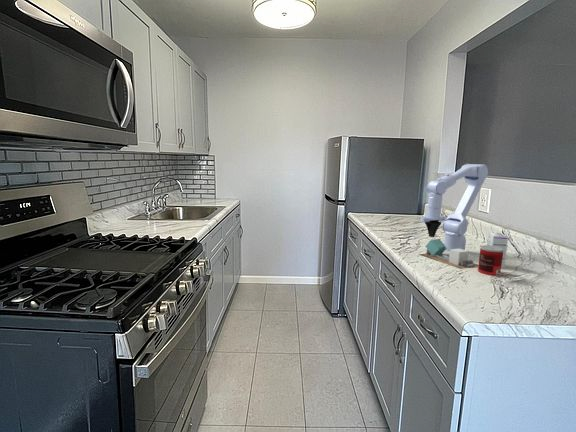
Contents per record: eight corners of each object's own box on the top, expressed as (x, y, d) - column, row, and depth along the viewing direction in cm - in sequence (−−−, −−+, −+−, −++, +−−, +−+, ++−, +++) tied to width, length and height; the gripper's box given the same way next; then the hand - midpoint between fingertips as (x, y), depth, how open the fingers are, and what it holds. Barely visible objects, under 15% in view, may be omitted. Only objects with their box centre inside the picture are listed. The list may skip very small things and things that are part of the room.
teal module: (441, 254, 155) (433, 245, 159) (447, 248, 152) (439, 238, 156) (432, 255, 153) (425, 246, 156) (438, 249, 150) (430, 240, 153)
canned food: (497, 273, 136) (500, 246, 134) (502, 279, 129) (506, 251, 127) (475, 270, 138) (478, 244, 137) (479, 277, 131) (482, 249, 129)
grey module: (457, 260, 148) (459, 248, 147) (467, 263, 144) (468, 251, 143) (448, 262, 145) (450, 249, 144) (458, 265, 141) (459, 252, 140)
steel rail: (432, 252, 159) (432, 248, 159) (473, 266, 141) (473, 261, 140) (425, 253, 157) (425, 249, 157) (466, 267, 139) (466, 262, 138)
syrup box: (504, 270, 139) (509, 236, 137) (488, 269, 141) (493, 235, 138) (499, 266, 145) (503, 233, 142) (483, 265, 146) (488, 232, 144)
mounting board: (436, 254, 161) (437, 251, 161) (480, 268, 142) (480, 265, 142) (417, 256, 156) (418, 254, 156) (460, 271, 137) (460, 268, 137)
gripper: (438, 205, 163) (435, 233, 165) (416, 207, 156) (413, 236, 159) (451, 207, 157) (448, 236, 159) (428, 209, 150) (425, 239, 152)
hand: (431, 236), depth 158 cm, fingers closed
